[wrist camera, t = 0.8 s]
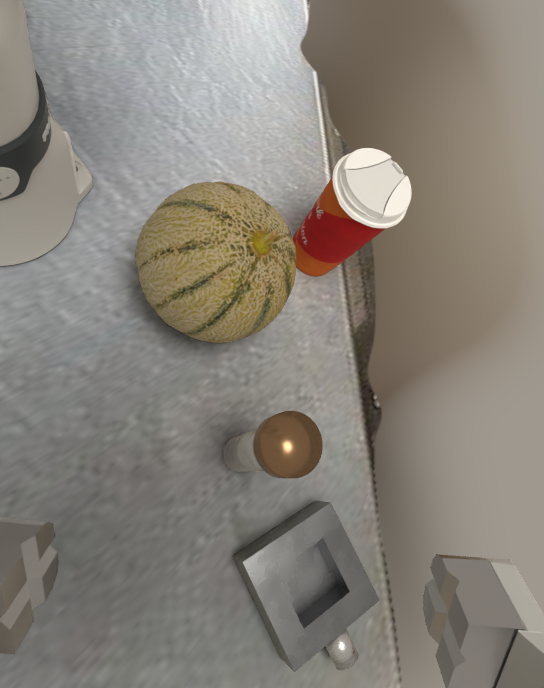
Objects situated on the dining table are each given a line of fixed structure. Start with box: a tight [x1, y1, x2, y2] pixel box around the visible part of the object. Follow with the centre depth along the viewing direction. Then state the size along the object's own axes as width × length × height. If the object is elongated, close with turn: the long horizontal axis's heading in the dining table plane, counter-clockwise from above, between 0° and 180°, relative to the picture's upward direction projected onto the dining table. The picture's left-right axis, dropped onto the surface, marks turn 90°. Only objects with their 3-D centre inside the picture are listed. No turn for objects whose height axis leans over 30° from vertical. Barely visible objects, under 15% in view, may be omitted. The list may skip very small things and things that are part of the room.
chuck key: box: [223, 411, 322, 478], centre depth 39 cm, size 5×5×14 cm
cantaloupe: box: [135, 181, 296, 343], centre depth 42 cm, size 15×15×15 cm
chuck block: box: [233, 501, 379, 672], centre depth 42 cm, size 13×10×4 cm
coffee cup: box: [293, 148, 411, 276], centre depth 48 cm, size 8×8×15 cm
